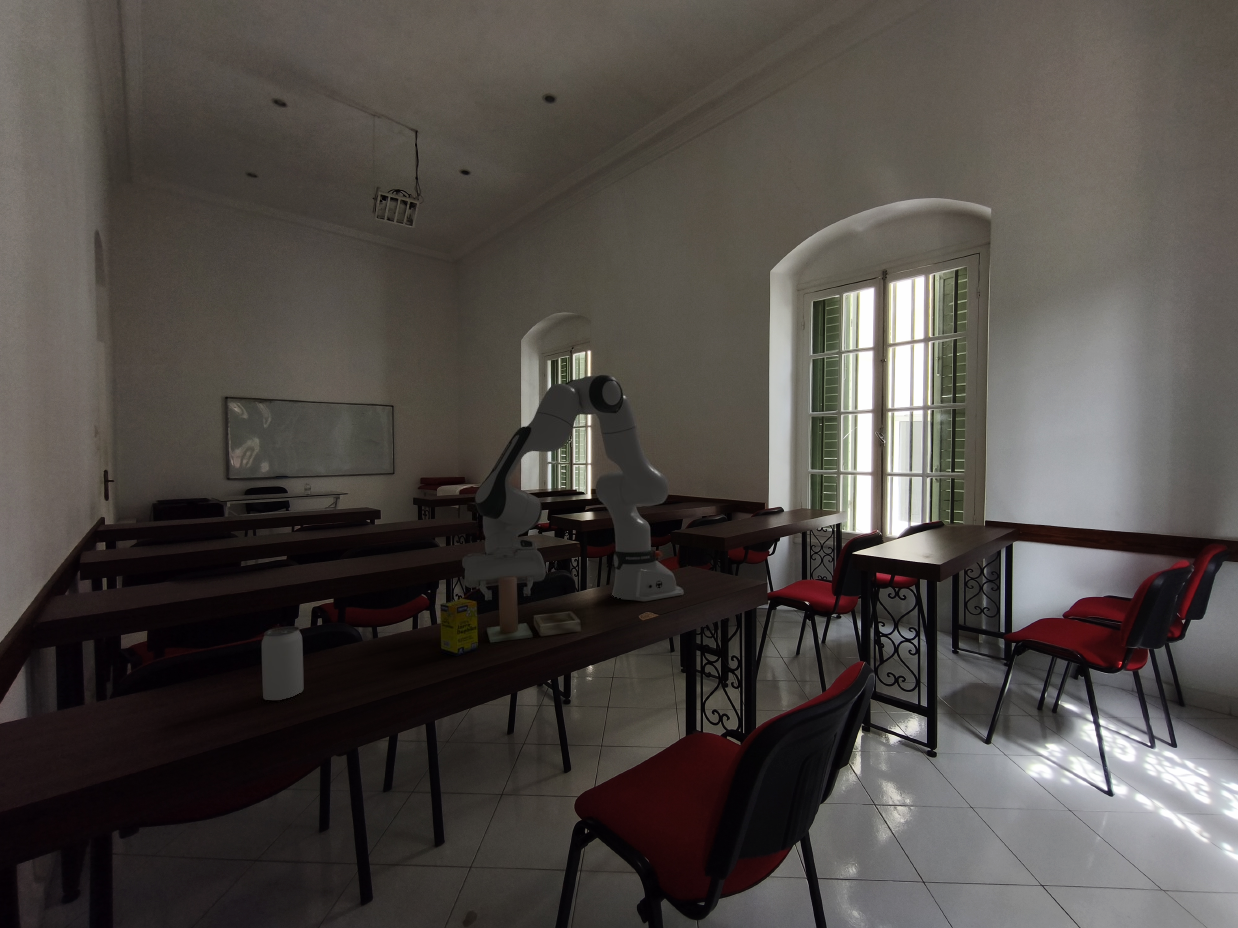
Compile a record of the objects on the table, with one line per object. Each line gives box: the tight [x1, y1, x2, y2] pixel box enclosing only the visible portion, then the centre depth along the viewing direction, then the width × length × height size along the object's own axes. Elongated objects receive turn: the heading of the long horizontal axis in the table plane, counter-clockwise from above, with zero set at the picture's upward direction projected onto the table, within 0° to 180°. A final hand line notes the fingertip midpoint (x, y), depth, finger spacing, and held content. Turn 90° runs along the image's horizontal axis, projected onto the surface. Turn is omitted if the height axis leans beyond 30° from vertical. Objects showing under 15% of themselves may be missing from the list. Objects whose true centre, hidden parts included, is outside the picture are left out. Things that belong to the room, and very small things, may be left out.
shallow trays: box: [486, 611, 582, 643], centre depth 138 cm, size 22×10×2 cm, turn 108°
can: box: [261, 625, 304, 701], centre depth 102 cm, size 6×6×12 cm
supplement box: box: [439, 598, 479, 657], centre depth 125 cm, size 6×6×11 cm
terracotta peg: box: [498, 576, 519, 633], centre depth 136 cm, size 4×4×13 cm
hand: (508, 596), depth 135 cm, fingers open, 8 cm apart
